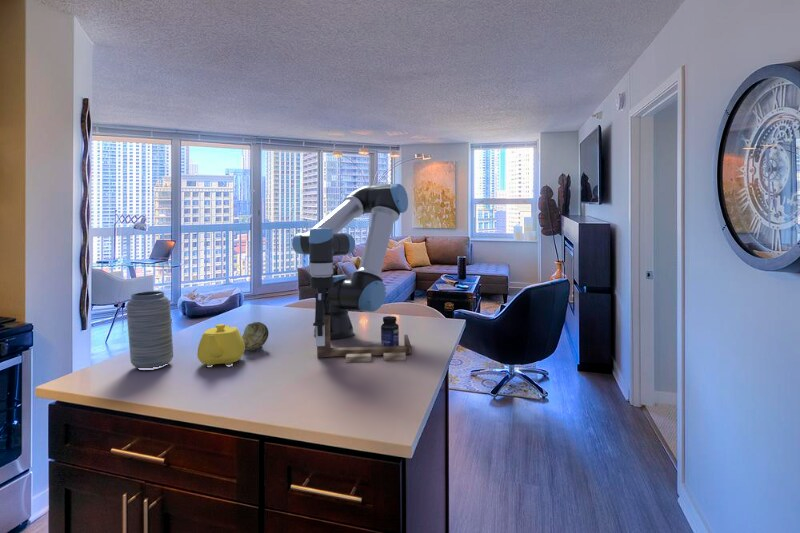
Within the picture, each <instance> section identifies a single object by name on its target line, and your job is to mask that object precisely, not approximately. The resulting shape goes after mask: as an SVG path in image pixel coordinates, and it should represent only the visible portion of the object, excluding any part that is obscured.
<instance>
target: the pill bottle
mask: <svg viewBox="0 0 800 533" xmlns="http://www.w3.org/2000/svg"><path fill="white" fill-rule="evenodd" d="M399 330H400V329H399V324H398V323H397V317H396V316H394V315H393V316H392V315H391V316H390V315H389V316H387V315H386V316H383V317H382V324H381V326H380V336H381V337H380V343H381V346H400V341H399V337H400V336H399V335H400V331H399ZM381 346H380V347H381Z"/></svg>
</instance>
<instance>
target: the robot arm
mask: <svg viewBox="0 0 800 533" xmlns="http://www.w3.org/2000/svg"><path fill="white" fill-rule="evenodd" d="M408 206H409V197H408V193H407V191H406V189H405V186H403V185H402V184H401V183H394V182H393V183H386V184H381V183H380V184H367V185H364V186H362V187H359V188H357V189H356V190H353V191H352V192H351V193H349V194H347V196H346V197H344V199H343V201H342V203H341V204H339V206H337V207H336V208H335V209H333V211H331V212H330V213H328V214H327V216H324V218H322V220H320V221H319V222H317V224H315V225H314V226H313V227H311V228H310V229H309V230H307V232H300V233H296V234H295V235H293V237H292V240H291V245H292V246H291V247H292V249H293V251H294V252H295V253H296V254H299V255H304V256H305V255H308V256H309V275H310V277H309V287H310V289H312V290H316V293H315V296H314V297H315V308H314V309H315V312H314V322H313V323H312V326H313V327H314V331H313V336H314V337H315V347H317V346H325V325H324V315H330V340H338V339H344V338H348V337H351V336H353V335H354V328H353V325H352V321H351V318H350V316H349V311H357V312H363V313H369V312H371V313H372V312H376V311H377V310H379V309H380V308H381V307H382V306H383V304H384V302H385V299H386V291H387V290H386V285H385V283H384V282H383V281H384V279H383V277H382V276H381V274H382V269H383V265H384V262H385V258H386V254H387V251H388V246H389V243H390V238H391V234H392V230H393V227H394V223H395V222H397V221H398V220H399V219H400V216H401V214H403V213H405V212H407V210H408ZM364 214H371V215H372V218H371V219H372V220H371V223H370V226H369V231H368V235H367V238H366V242H365V244H364V249H363V252H362V256H361V259H360V262H359V267H358V269H357V270H355V271H353V273H352V277H351V278H350V279H349V277H348V275H347V274H337V275H334V269H335V268H336V266H335V265H333V264H334V257H336V256H337V257H338V256H347V255H350V254H352V253H353V252H354V251H355V249H356V240H355V238H354V236H353V235H351V234H349V233H345V232H344V233H343V232H341V231H342V230H343V229H344V228H345V227H346V226H348V224H350V223H351V222H352V221H353V220H354V219H357V218H360V217H361V216H362V215H364Z"/></svg>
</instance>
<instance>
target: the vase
mask: <svg viewBox="0 0 800 533" xmlns="http://www.w3.org/2000/svg"><path fill="white" fill-rule="evenodd" d="M125 305H126V307H125V309H126V319H127V331H128V332H127V334H128V346H129V358H130V363H131V365H132V366H133V367H135V368H136V367H137V368H153V367H159V366H163V365H165V364H168V363H169V364H170V363H171V362H172V361H173V358H174V346H173V345H174V343H173V342H174V341H173V329H172V328H173V327H172V326H173V325H172V314H171V302H170V299H169V298H168V297H167V296H165V292H164V291H162V290H161V291H160V290H152V291H151V290H150V291H141V292H135V293H132V294H131V297H130V299H129V300H128V301H127V303H126V304H125ZM137 368H136V369H137Z"/></svg>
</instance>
